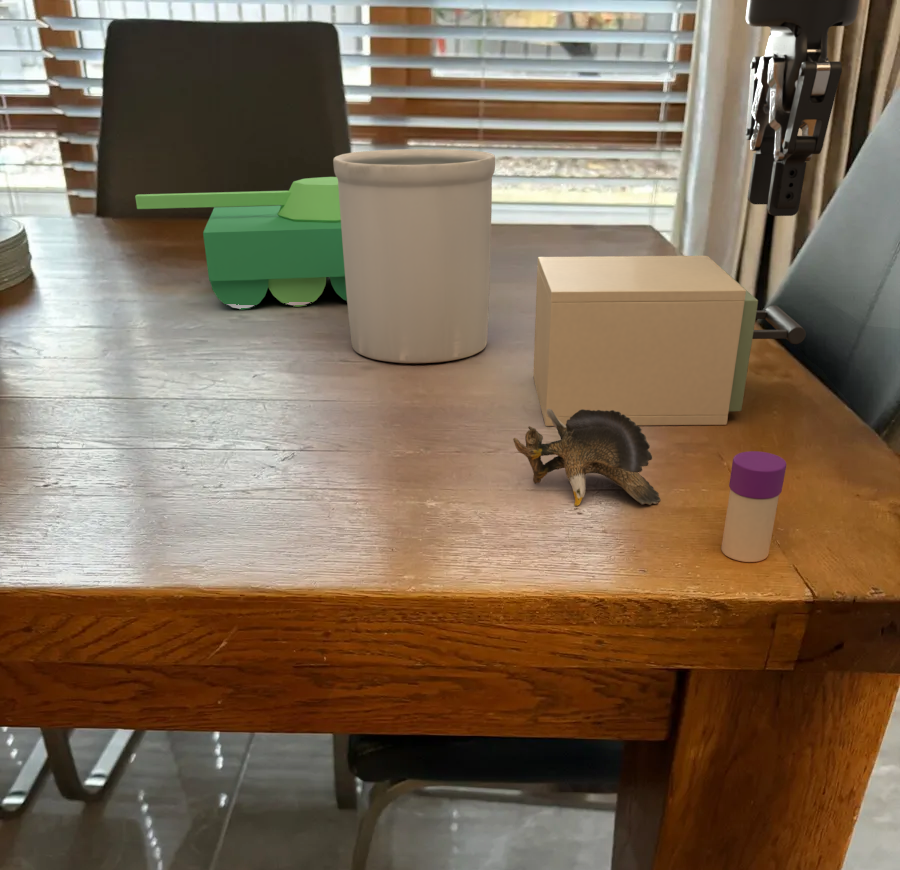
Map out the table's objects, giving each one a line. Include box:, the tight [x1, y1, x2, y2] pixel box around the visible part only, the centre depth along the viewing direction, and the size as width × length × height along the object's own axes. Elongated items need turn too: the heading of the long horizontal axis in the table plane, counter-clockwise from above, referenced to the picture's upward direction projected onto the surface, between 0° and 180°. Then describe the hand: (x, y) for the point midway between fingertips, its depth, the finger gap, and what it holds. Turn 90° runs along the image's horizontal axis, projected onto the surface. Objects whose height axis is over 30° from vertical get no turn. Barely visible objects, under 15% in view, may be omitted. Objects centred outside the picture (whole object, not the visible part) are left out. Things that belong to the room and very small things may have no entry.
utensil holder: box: [332, 148, 496, 364], centre depth 94 cm, size 15×15×18 cm
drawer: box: [723, 269, 807, 412], centre depth 81 cm, size 18×11×9 cm, turn 90°
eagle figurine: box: [512, 409, 662, 507], centre depth 66 cm, size 8×7×9 cm
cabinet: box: [532, 255, 747, 427], centre depth 81 cm, size 15×13×11 cm
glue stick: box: [720, 450, 787, 563], centre depth 58 cm, size 3×3×6 cm
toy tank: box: [134, 176, 347, 311], centre depth 115 cm, size 18×12×35 cm
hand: (771, 208), depth 76 cm, fingers open, 5 cm apart
